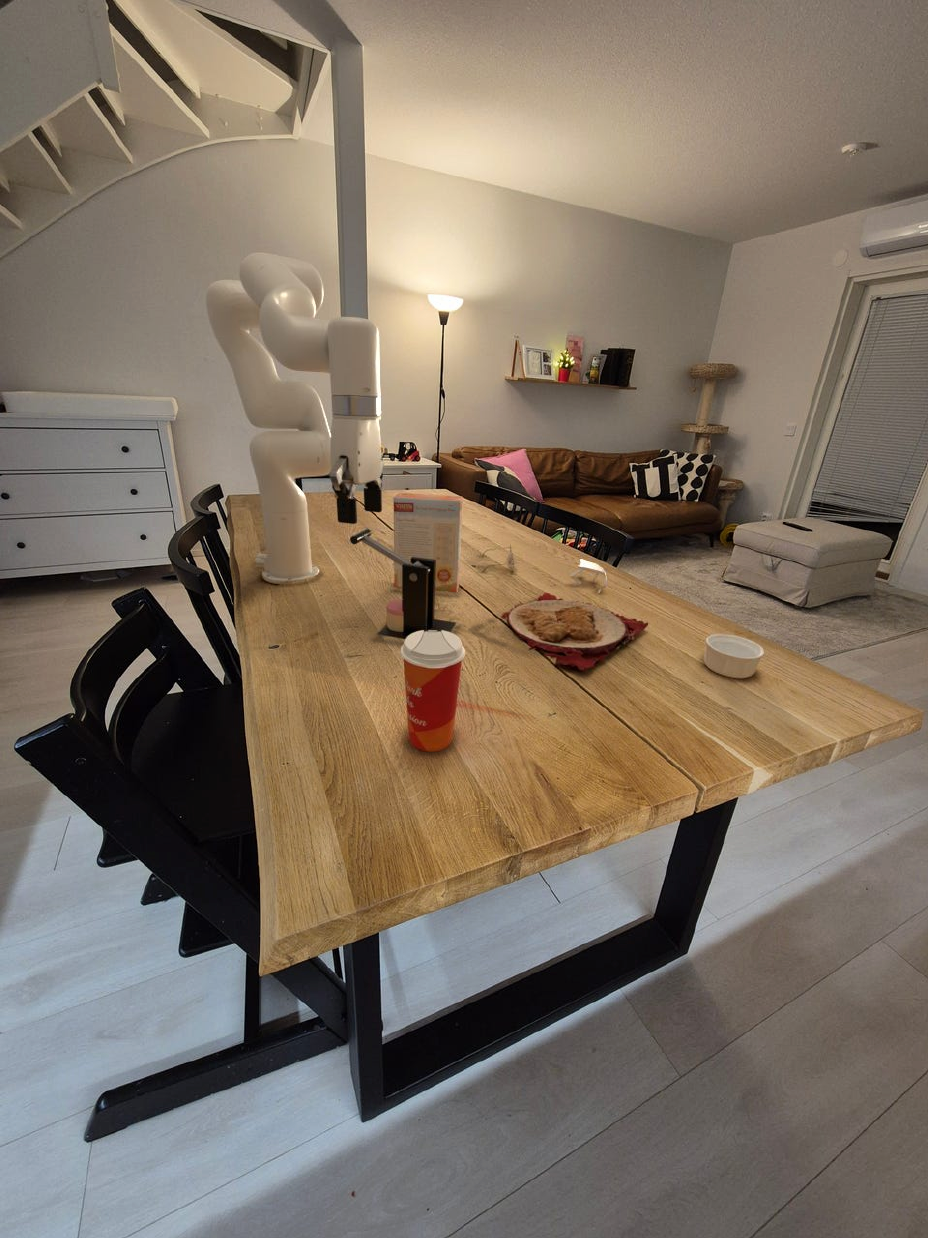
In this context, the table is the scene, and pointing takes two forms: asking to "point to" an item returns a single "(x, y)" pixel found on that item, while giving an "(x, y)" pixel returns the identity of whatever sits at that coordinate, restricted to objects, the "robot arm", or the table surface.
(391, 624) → the cake
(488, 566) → the eyeglasses
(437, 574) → the cracker box
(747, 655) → the ramekin
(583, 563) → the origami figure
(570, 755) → the table surface
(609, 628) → the plate with food
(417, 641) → the paper cup
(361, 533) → the lever
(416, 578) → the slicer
